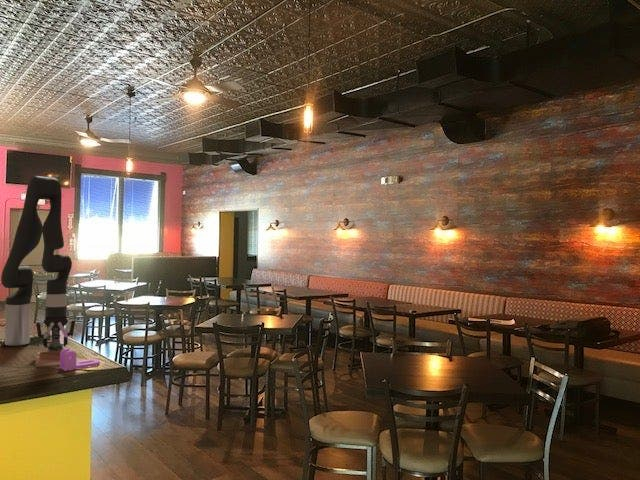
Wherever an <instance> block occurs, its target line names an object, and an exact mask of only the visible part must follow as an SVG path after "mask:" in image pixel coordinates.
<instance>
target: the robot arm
mask: <svg viewBox="0 0 640 480" xmlns="http://www.w3.org/2000/svg"><path fill="white" fill-rule="evenodd" d="M40 200H43V201H44V200H48V201H49V208H50V209H49V212H48V215H47V216H46V218H45V220H44V222H43V223H42V220H41V218H40V216H39V214H38V204H39V201H40ZM14 235H15V236H14V238H13V242H12V246H11V249H10V252H9V254H8V257H7V260H6V262H5V264H4V266H3V270H2V272H1V276H0V277H1V278H0V281H1V285H2V287H3V288H5V289H17V288H18V289H17V290H16V292H14V293H13V294H11V295H8V296H6V297H5V310H4V311H5V315H4V316H5V319H4V325H5V327H4V345H5V346H11V347H12V346H13V347H14V346H23V345H24V346H25V345H28V344H31V303H32V302H31V300H32V297H33V286H34V272H33V269H32V268H31V266H29V265H21V263H22V262H23V260H24V259H25V258H27V256H28V255H29V254H31V253H32V252H33V251H34V250H35V249H36V248H37V247H38V245H39V244H40V241H41V239H42V238H43V254H42V259H41V268H42V269H43V271H44V272H45V273H48V274H49V273H51V274H52V273H53V274H54V273H57V275H56V276H55V277H52V278H50V279H48V280H47V281H46V296H45V303H44V305H45V307H44V308H45V309H44V310H45V315H44V320H42V321H36V323H35V326H36V329H37V336H38V337H37V338H41V339H43V341H42V342H43V343H42V345H43V347H44V348H45V349H48V347H47V345H48V335H49V334H51V331H53V329H54V328H58V329H59V330H61V331H62V333H63V335H64V343H63V345H64V346H63V348H64V347H65V348H67V347H66V346H68V341H69V339H68V338H69V337H70V336H73V334H74V329H75V323H76V321H75V319H68V317H67V315H68V313H67V311H68V310H67V308H68V305H67V304H68V298H67V283H68V279H69V276H70V272H71V270H72V267H73V262H72V259H71V257H70V256H69V255H67V254H54V253H55V251H57V250H61V249H63V248H64V247H65V242H64V241H65V240H64V236H63V235H64V234H63V229H62V187H61V182H60V181H59V180H58V179H57V178H56V177H52V176H51V177H50V176H49V177H48V176H42V175H41V176H39V175H34V176H32V177H30V179H29V180H28V184H27V187H26V192H25V198H24V203H23V208H22V212H21V216H20V219H19V221H18V224H17V228H16V232H15V234H14ZM67 323H68V326H69V331H68V332H67V331H66V328H64V326H65V325H67ZM44 325H45V327H46V330H45V332H44V333H42V327H43V326H44Z"/></svg>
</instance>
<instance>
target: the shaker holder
mask: <svg viewBox="0 0 640 480" xmlns="http://www.w3.org/2000/svg"><path fill="white" fill-rule="evenodd" d="M61 351H62V350H61ZM61 351H49V350H48V351H38V352H37V355H36V358H35V368H38V367H39V368H40V367H51V366H53V367H54V366H60V352H61Z"/></svg>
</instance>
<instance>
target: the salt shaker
mask: <svg viewBox="0 0 640 480" xmlns="http://www.w3.org/2000/svg"><path fill="white" fill-rule="evenodd" d="M60 336H61V335H60V330H59V329H58V328H54V329H53V331H52V335H51V334H50V343H49V344H47V350H48V352H49V351H62V350H63V349H64V345H63V344H61V343H60Z"/></svg>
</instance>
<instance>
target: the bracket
mask: <svg viewBox="0 0 640 480" xmlns="http://www.w3.org/2000/svg"><path fill="white" fill-rule="evenodd" d="M100 363H101V361H100V360H99V359H87V360H86V359H85V360H80V361H77V353H76V352H75V351H74V350H71V349H70V348H67V347H65V348H62V350H61V352H60V365H59V368H60V369H61V370H62V369H63V370H62V371H65V372H67V370H69V371H74V370H73V369H75V370H78V369H77V368H81V369H84V368H83V367H87V368H89V367H88V366H93V367H95V366H94V365H98V364H100ZM98 366H99V365H98Z"/></svg>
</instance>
